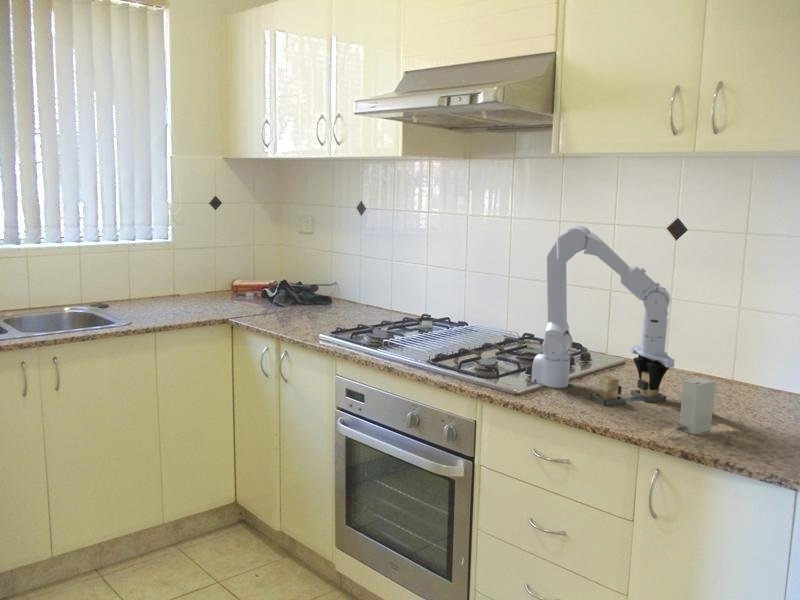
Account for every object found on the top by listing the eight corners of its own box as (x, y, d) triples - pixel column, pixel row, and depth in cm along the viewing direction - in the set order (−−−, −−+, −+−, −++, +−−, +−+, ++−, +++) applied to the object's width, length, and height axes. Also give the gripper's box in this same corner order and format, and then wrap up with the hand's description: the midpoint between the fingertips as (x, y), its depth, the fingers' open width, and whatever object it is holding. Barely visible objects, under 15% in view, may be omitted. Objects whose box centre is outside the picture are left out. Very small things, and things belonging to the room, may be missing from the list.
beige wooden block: (650, 393, 183) (652, 370, 182) (658, 396, 180) (660, 374, 179) (635, 394, 182) (637, 371, 181) (643, 398, 179) (645, 375, 178)
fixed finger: (605, 403, 176) (607, 380, 175) (598, 399, 179) (600, 376, 178) (621, 402, 177) (623, 379, 176) (613, 398, 180) (615, 375, 179)
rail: (603, 411, 174) (604, 401, 174) (590, 403, 180) (591, 393, 180) (664, 406, 180) (665, 396, 179) (650, 398, 186) (650, 389, 185)
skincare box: (695, 425, 167) (700, 375, 164) (711, 431, 163) (717, 381, 160) (677, 429, 164) (682, 378, 161) (693, 436, 160) (698, 384, 158)
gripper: (686, 341, 173) (681, 394, 175) (649, 328, 187) (644, 378, 189) (662, 342, 171) (657, 396, 173) (626, 329, 184) (622, 380, 187)
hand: (649, 387), depth 181 cm, fingers closed on beige wooden block, 3 cm apart
